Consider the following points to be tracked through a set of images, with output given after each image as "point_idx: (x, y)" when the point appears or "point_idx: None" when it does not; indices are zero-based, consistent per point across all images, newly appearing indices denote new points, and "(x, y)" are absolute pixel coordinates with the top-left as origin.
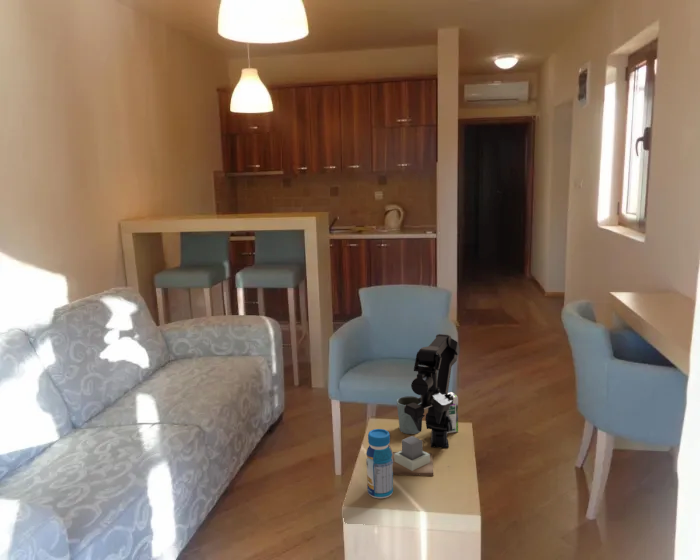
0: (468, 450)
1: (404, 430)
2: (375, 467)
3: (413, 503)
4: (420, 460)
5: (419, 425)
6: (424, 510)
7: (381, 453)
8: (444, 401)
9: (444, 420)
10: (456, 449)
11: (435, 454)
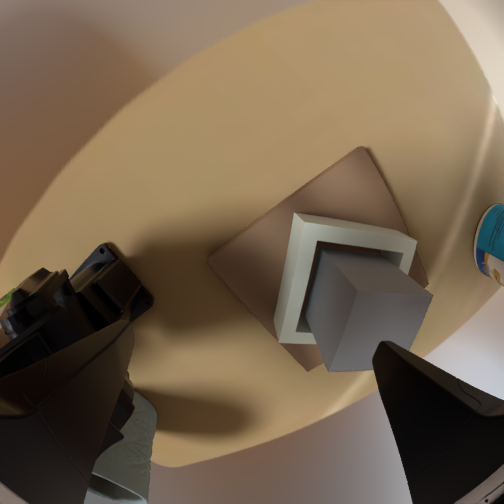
0: (68, 165)
1: (154, 416)
2: None
3: (490, 131)
4: (367, 230)
5: (443, 374)
6: (491, 93)
7: None
8: None
9: (47, 320)
10: (91, 208)
11: (189, 250)
